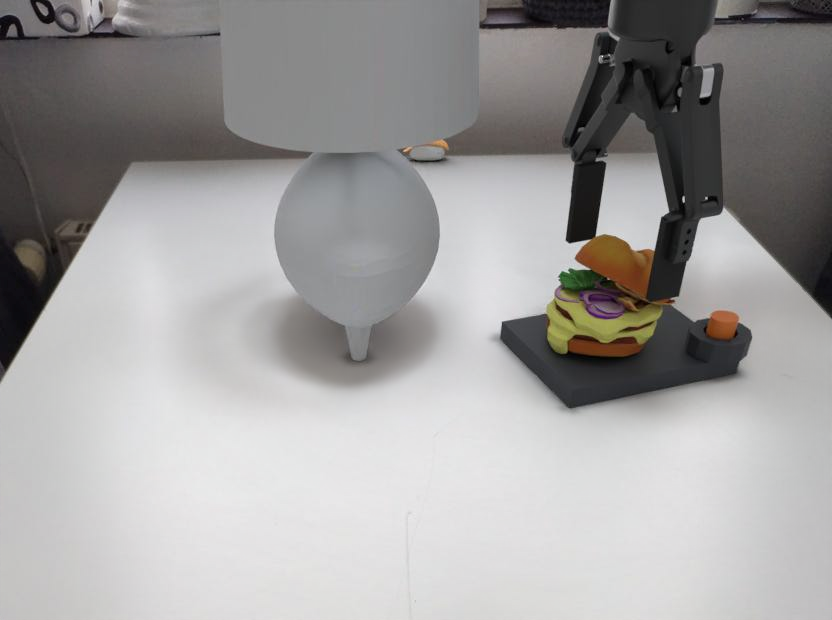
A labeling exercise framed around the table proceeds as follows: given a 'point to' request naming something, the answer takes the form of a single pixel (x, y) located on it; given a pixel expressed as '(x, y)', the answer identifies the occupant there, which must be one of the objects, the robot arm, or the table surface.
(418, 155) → the sushi
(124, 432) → the table surface
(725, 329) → the tare button
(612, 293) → the cheeseburger
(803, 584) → the table surface
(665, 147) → the robot arm
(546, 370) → the scale
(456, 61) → the table lamp
